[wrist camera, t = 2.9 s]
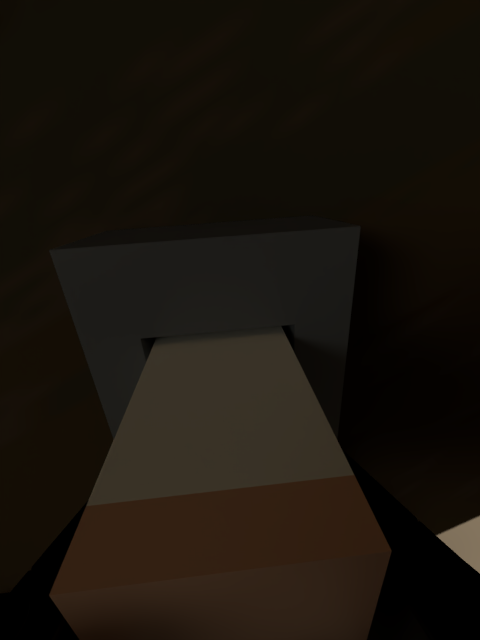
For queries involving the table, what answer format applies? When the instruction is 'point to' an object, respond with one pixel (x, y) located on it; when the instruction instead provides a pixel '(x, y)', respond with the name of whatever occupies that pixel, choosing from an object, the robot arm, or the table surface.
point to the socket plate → (212, 295)
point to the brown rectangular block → (224, 507)
